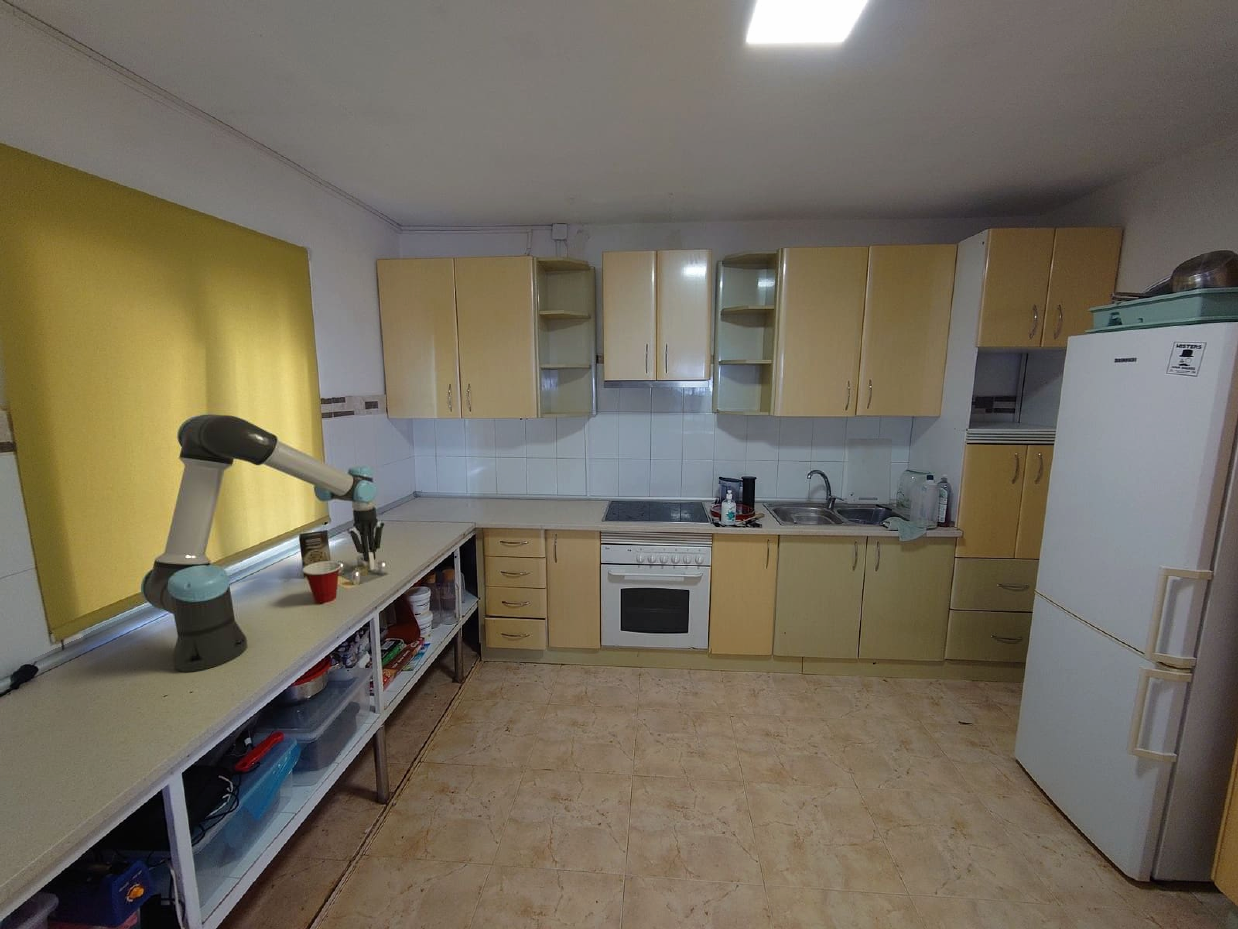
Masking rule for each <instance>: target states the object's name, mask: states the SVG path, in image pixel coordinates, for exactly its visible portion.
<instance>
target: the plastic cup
mask: <svg viewBox="0 0 1238 929" xmlns="http://www.w3.org/2000/svg"><path fill="white" fill-rule="evenodd" d="M338 562H339V561H332V560H331V561H323V562H317V563H313V564H310V565H308V566H306V567H304V568H303V567H302V572H303V571H304V573H305V575H306V577H307V579H306V580H307V582H308V584H309V585H308V586H309V588H310V591H311V594H312V595H313V598H314V601H315V604H317V605H324V604H326V603H330V602H332V601H334V600H335V599H336V598H337V594H338V593H337V592H338V591H337V590H338V585H337V584H338V574H339V570H340V567H341V563H338Z"/></svg>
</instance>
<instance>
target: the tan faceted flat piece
mask: <svg viewBox="0 0 1238 929" xmlns="http://www.w3.org/2000/svg"><path fill="white" fill-rule="evenodd" d="M355 570H360V576H361V577H363V576H366V575H369V566H367V565H366V566H359V567H358V566H357V567H355Z"/></svg>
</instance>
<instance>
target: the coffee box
mask: <svg viewBox="0 0 1238 929" xmlns="http://www.w3.org/2000/svg"><path fill="white" fill-rule="evenodd" d="M328 533H329V532H328V529H325V530H318V531H311V532H305V533H304V532H303V533H299V537H298V540H299V548H300V549H299V550H300V556H301V563H302V564H301V565H302V569H303V568H304V567H306V566H308V565H310V564H313V563H317V562H323V561H332V559H331V551H330V543H329V534H328ZM302 573H303V579H304V580H307V577H306V575H305V573H304V571H303V570H302Z"/></svg>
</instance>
